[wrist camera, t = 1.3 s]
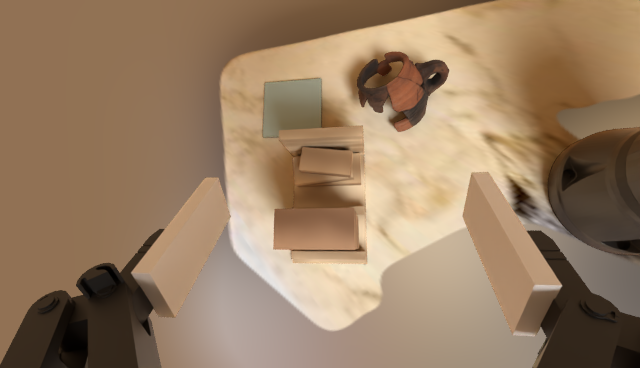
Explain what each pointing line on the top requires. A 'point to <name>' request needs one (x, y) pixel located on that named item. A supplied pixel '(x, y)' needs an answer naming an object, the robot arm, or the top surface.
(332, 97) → the top surface
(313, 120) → the felt mat
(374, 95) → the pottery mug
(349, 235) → the brown rectangular block
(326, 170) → the rack
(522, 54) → the top surface
